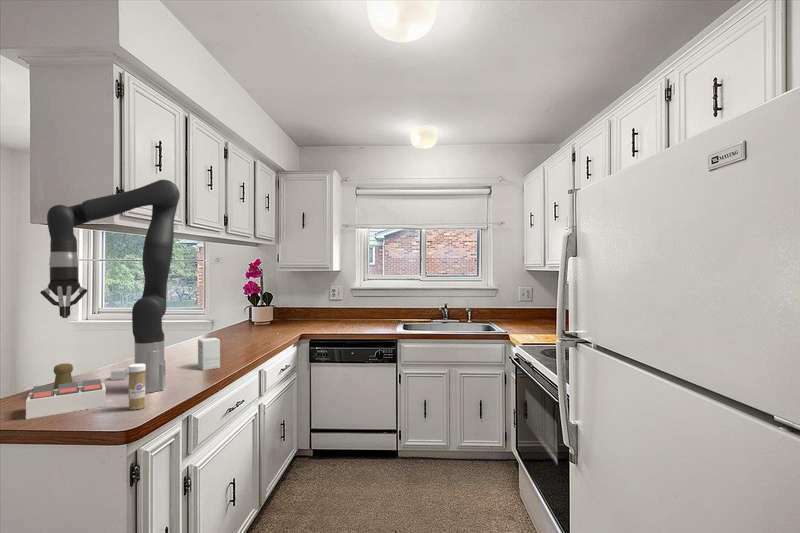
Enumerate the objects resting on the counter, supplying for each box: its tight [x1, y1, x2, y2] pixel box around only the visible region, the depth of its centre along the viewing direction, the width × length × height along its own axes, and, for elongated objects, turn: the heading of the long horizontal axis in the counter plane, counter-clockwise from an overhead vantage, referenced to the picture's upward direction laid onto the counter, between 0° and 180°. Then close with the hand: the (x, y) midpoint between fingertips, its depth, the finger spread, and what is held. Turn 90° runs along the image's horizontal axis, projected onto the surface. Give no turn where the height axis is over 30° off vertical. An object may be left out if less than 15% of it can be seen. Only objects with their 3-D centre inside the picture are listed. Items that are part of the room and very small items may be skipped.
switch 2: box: [82, 378, 102, 392], centre depth 138 cm, size 5×7×1 cm
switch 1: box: [31, 383, 54, 399], centre depth 131 cm, size 5×7×1 cm
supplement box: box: [197, 337, 221, 371], centre depth 189 cm, size 7×7×13 cm
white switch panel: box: [25, 382, 107, 420], centre depth 134 cm, size 19×10×5 cm, turn 126°
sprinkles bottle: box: [127, 363, 146, 411], centre depth 134 cm, size 5×5×14 cm
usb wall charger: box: [110, 367, 129, 381], centre depth 171 cm, size 4×7×4 cm, turn 103°
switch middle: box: [58, 381, 79, 396], centre depth 134 cm, size 5×7×1 cm
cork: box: [53, 363, 74, 390], centre depth 147 cm, size 6×6×11 cm
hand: (64, 317), depth 144 cm, fingers closed
